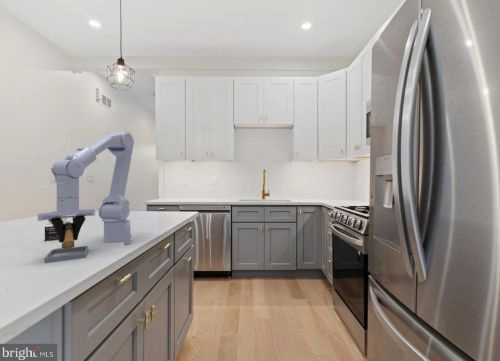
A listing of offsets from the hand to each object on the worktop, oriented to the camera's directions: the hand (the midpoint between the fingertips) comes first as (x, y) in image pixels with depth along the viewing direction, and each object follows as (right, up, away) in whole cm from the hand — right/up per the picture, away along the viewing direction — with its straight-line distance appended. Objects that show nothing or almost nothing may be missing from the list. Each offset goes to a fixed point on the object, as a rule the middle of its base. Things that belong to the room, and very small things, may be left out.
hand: (68, 240), depth 79 cm
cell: (0, -2, 0) cm, 2 cm away
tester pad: (-8, -6, +7) cm, 12 cm away
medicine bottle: (-21, -6, +23) cm, 31 cm away
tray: (0, -6, 0) cm, 6 cm away
